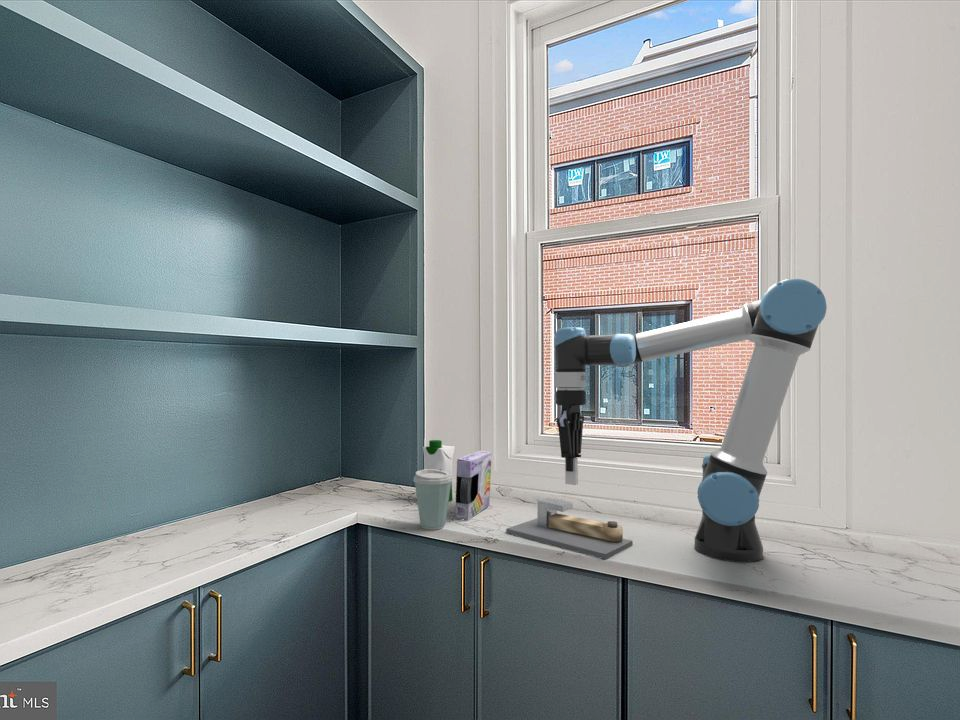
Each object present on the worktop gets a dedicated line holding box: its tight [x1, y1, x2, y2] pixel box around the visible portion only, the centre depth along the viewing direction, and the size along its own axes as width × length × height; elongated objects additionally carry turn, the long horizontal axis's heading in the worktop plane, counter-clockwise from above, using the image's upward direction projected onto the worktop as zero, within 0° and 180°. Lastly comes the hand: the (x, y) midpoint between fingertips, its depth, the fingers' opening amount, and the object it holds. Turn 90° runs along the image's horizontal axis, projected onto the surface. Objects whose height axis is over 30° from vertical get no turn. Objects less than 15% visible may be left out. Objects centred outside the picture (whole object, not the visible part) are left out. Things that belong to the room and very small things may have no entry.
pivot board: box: [505, 518, 634, 560], centre depth 137 cm, size 29×14×1 cm, turn 49°
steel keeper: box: [536, 497, 574, 527], centre depth 145 cm, size 8×5×8 cm, turn 49°
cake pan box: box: [454, 450, 493, 521], centre depth 162 cm, size 19×5×18 cm, turn 159°
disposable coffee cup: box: [412, 469, 453, 531], centre depth 146 cm, size 11×11×15 cm
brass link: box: [549, 512, 624, 542], centre depth 138 cm, size 20×5×4 cm, turn 53°
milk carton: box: [422, 439, 456, 503], centre depth 176 cm, size 9×9×20 cm
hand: (571, 483), depth 133 cm, fingers closed
